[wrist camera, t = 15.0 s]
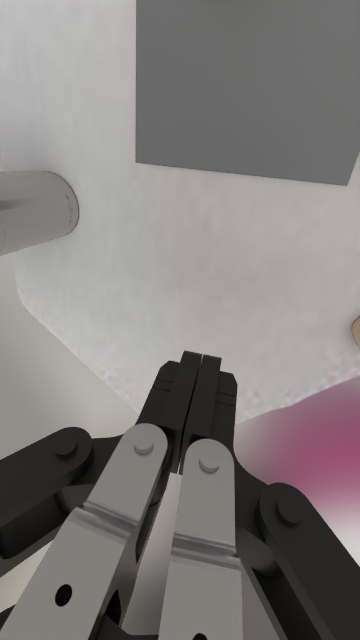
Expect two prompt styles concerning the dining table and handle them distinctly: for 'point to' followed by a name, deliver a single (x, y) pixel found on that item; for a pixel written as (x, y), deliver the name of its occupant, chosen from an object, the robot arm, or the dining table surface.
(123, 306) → the dining table surface
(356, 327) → the candle
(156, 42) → the mat
